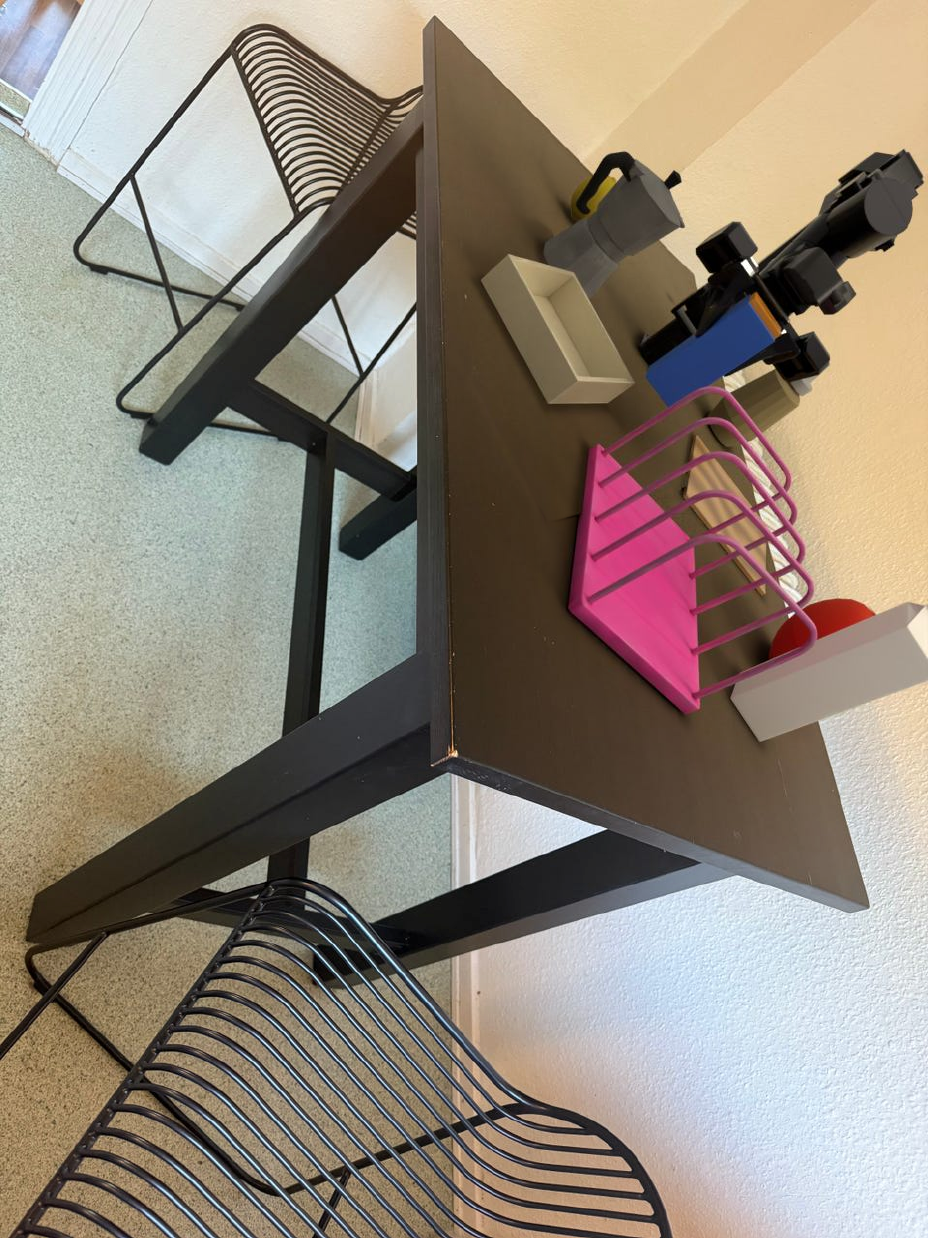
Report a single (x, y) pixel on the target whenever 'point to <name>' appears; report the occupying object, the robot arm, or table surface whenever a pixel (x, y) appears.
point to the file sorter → (670, 563)
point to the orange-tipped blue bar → (714, 350)
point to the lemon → (594, 201)
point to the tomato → (818, 623)
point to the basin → (557, 332)
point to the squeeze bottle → (759, 405)
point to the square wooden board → (723, 509)
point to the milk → (838, 673)
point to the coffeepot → (615, 221)
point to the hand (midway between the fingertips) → (711, 355)
